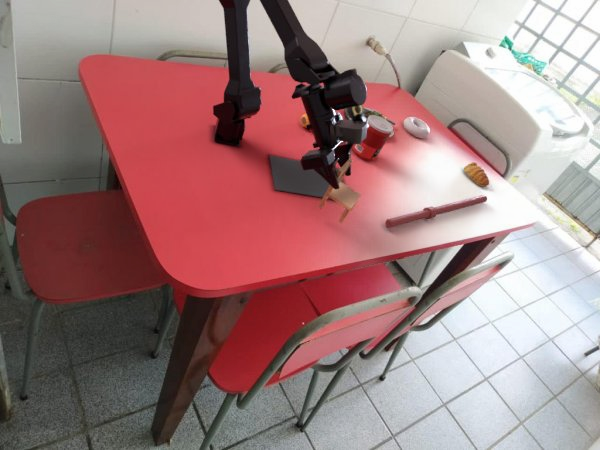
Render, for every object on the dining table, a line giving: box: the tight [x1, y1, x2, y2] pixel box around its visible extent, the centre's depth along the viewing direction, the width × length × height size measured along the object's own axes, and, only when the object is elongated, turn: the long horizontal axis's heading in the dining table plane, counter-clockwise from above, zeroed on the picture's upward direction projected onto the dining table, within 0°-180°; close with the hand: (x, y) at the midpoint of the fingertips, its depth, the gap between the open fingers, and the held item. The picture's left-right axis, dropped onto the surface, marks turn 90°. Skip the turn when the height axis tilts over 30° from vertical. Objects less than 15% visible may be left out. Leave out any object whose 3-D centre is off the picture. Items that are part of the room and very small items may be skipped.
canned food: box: [351, 115, 394, 162], centre depth 119 cm, size 8×8×11 cm
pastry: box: [463, 161, 490, 188], centre depth 137 cm, size 9×7×4 cm
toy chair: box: [317, 157, 362, 224], centre depth 91 cm, size 7×7×12 cm
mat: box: [268, 154, 344, 201], centre depth 104 cm, size 20×13×1 cm, turn 100°
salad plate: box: [343, 105, 396, 138], centre depth 136 cm, size 19×18×5 cm
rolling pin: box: [384, 194, 488, 229], centre depth 114 cm, size 45×3×3 cm, turn 124°
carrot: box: [300, 113, 309, 129], centre depth 125 cm, size 20×4×4 cm, turn 122°
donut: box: [403, 116, 431, 139], centre depth 145 cm, size 10×4×10 cm
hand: (343, 182), depth 90 cm, fingers closed on toy chair, 6 cm apart
